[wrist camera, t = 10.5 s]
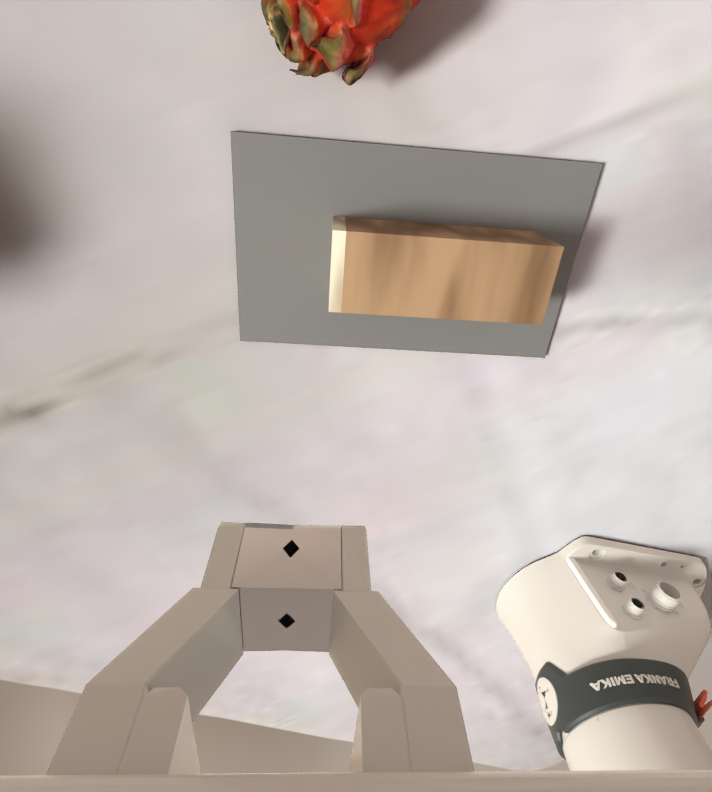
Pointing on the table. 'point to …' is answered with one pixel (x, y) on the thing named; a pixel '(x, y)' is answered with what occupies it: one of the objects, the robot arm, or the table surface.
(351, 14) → the dragon fruit
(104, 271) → the table surface
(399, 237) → the light brown wooden block
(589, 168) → the rubber mat
